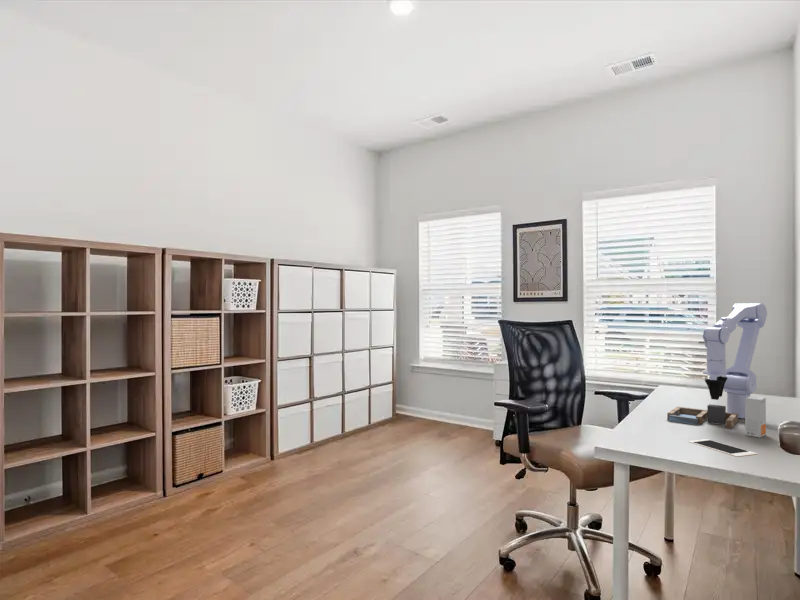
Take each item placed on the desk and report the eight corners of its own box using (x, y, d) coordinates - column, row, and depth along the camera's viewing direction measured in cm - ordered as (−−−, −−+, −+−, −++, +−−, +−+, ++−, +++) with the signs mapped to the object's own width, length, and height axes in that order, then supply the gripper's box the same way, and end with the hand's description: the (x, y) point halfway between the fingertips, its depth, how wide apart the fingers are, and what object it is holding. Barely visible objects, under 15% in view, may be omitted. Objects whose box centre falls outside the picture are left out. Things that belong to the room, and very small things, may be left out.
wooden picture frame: (677, 413, 190) (677, 406, 190) (737, 420, 177) (737, 413, 177) (666, 420, 177) (666, 413, 177) (730, 429, 164) (730, 421, 164)
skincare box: (761, 438, 153) (760, 399, 154) (745, 435, 157) (744, 398, 157) (766, 434, 157) (766, 397, 157) (750, 432, 161) (750, 395, 161)
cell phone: (736, 458, 134) (736, 456, 134) (687, 443, 150) (687, 441, 150) (758, 455, 136) (758, 453, 136) (707, 440, 152) (707, 438, 152)
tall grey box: (709, 420, 177) (709, 404, 177) (725, 422, 174) (725, 406, 174) (707, 422, 175) (707, 405, 175) (724, 424, 171) (724, 407, 171)
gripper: (706, 357, 185) (707, 393, 185) (699, 361, 174) (700, 399, 174) (728, 359, 180) (729, 395, 180) (723, 362, 169) (723, 401, 169)
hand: (716, 397), depth 177 cm, fingers open, 7 cm apart
